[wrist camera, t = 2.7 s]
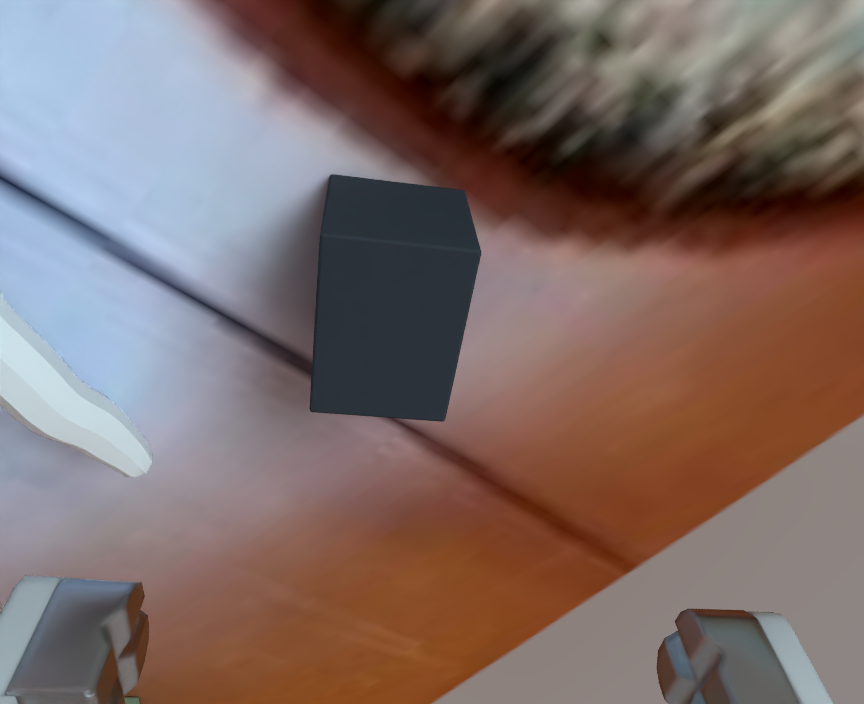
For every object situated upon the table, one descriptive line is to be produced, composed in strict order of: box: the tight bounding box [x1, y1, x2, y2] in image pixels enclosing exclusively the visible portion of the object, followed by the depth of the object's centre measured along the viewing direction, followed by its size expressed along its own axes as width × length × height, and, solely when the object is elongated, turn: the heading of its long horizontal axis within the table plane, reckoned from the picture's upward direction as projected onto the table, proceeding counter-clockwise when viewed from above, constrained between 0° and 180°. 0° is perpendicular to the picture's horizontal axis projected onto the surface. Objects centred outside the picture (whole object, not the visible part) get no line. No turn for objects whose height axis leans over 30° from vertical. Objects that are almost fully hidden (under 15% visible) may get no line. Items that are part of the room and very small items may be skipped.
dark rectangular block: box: [310, 175, 481, 421], centre depth 17 cm, size 4×5×4 cm
